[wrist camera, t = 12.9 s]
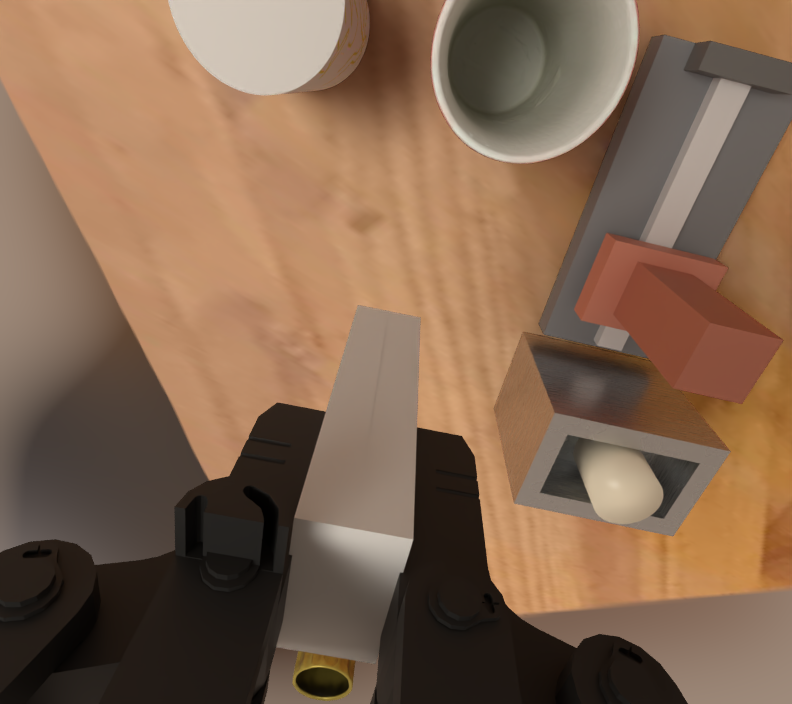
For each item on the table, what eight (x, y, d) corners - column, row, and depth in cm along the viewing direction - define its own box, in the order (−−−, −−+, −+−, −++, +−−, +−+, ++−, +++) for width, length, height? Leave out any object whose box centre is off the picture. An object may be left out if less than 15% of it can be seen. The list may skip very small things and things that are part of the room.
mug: (567, 123, 36) (638, 144, 24) (438, 147, 37) (445, 180, 25) (560, -108, 30) (647, -230, 18) (408, -70, 31) (398, -161, 20)
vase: (306, 549, 57) (272, 682, 45) (342, 521, 55) (317, 653, 42) (347, 577, 59) (326, 712, 46) (383, 551, 57) (372, 685, 44)
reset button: (587, 420, 37) (609, 466, 32) (645, 433, 37) (675, 480, 33) (564, 466, 39) (582, 516, 34) (619, 478, 39) (644, 529, 35)
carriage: (606, 232, 36) (682, 296, 26) (713, 258, 37) (831, 331, 26) (573, 309, 39) (629, 395, 28) (673, 332, 39) (765, 426, 29)
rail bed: (651, 37, 33) (678, 32, 30) (795, 75, 34) (838, 75, 30) (538, 323, 43) (548, 345, 40) (651, 349, 44) (671, 373, 40)
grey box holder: (523, 331, 44) (554, 412, 33) (664, 364, 44) (739, 453, 34) (493, 408, 47) (514, 503, 37) (624, 437, 48) (681, 538, 37)
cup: (370, 91, 36) (347, 96, 25) (254, 90, 36) (183, 94, 25) (368, -56, 32) (341, -124, 21) (239, -57, 32) (148, -123, 22)
